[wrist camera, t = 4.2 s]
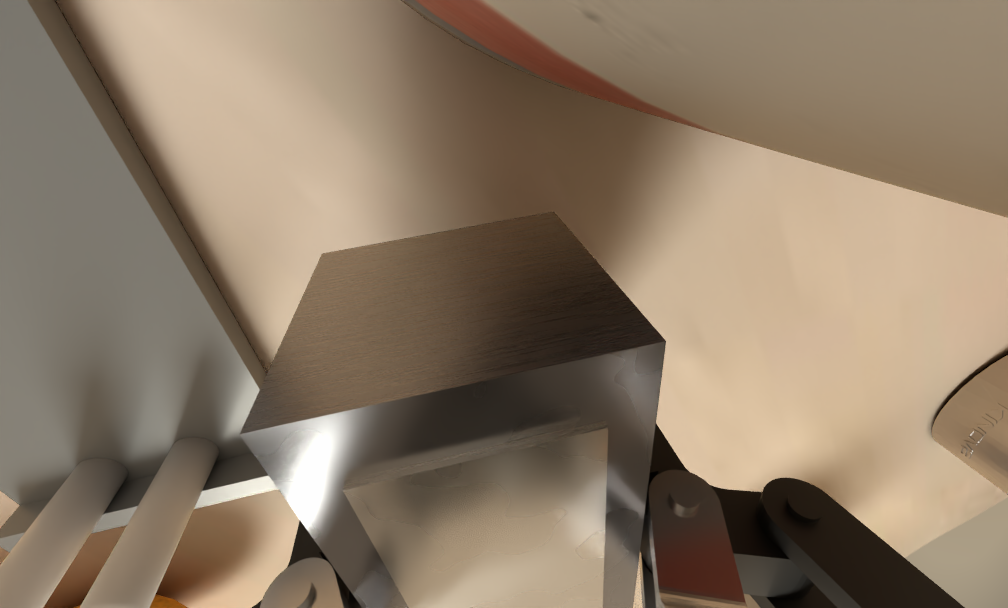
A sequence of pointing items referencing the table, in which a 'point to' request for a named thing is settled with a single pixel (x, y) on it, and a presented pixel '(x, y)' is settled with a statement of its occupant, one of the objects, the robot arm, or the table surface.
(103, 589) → the grey pegged block
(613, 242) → the table surface
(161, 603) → the potato
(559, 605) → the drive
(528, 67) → the vase
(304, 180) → the table surface
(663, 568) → the robot arm
